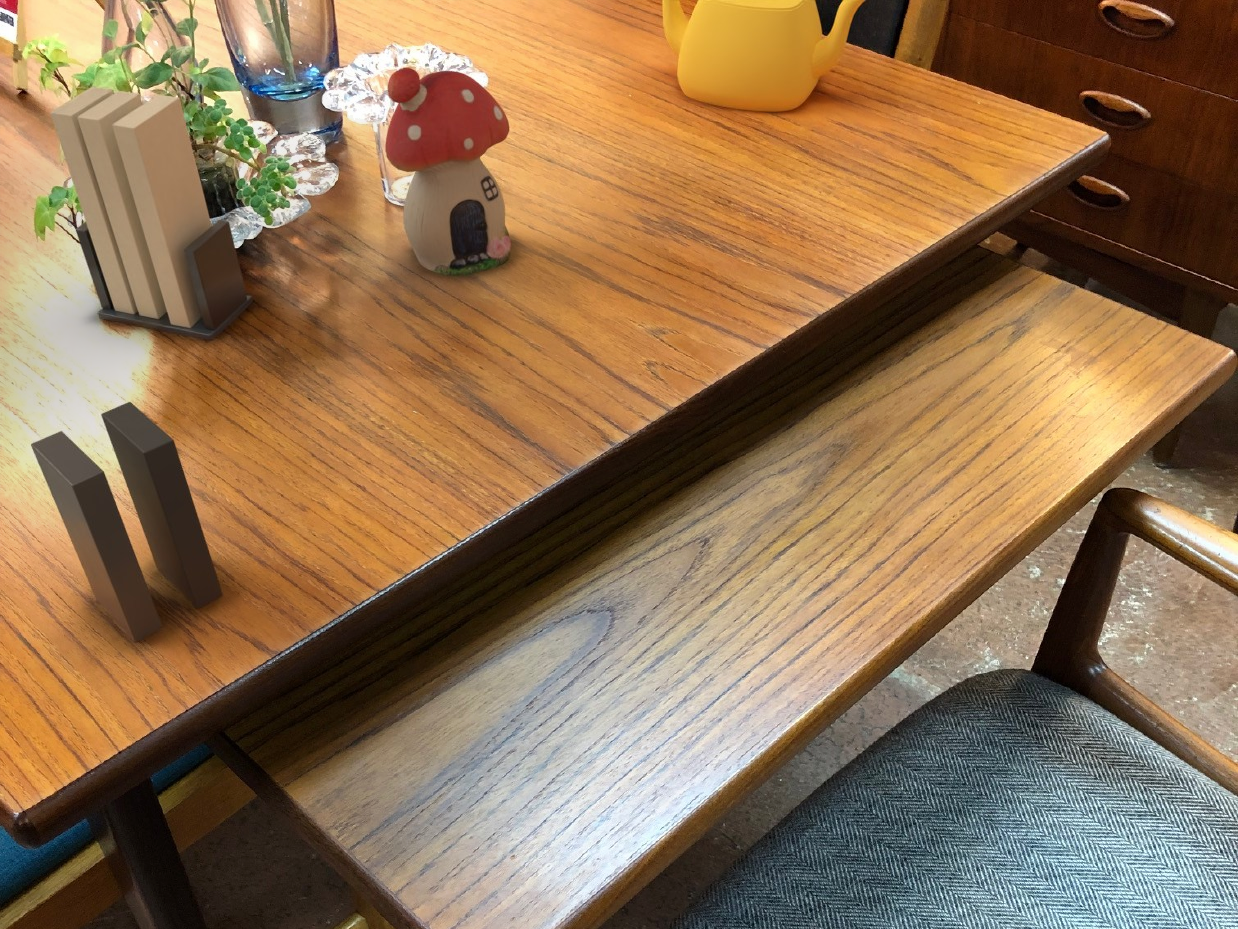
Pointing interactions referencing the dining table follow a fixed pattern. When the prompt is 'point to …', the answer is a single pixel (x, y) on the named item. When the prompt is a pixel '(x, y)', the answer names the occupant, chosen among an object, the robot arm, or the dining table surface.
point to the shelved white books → (109, 196)
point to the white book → (165, 197)
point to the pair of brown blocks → (158, 507)
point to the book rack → (211, 279)
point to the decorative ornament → (449, 170)
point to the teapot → (754, 50)
